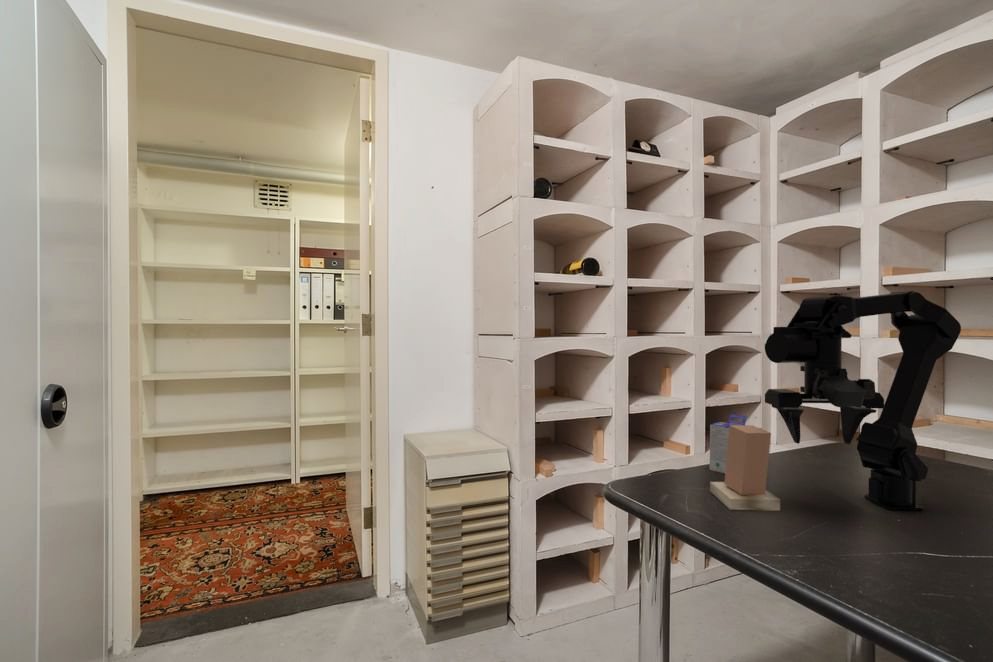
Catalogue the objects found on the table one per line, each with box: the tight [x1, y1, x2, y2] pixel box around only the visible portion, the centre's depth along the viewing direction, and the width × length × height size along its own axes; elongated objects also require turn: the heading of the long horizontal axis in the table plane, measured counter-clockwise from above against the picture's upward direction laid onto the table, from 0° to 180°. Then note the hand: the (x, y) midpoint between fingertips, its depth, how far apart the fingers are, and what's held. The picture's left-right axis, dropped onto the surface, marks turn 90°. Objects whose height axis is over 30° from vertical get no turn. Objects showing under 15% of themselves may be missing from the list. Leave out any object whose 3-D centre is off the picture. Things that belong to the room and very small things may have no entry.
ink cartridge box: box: [709, 413, 763, 474], centre depth 105 cm, size 10×6×14 cm, turn 37°
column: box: [723, 424, 772, 495], centre depth 88 cm, size 5×5×12 cm
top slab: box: [709, 481, 781, 511], centre depth 89 cm, size 9×9×2 cm
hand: (822, 443), depth 87 cm, fingers open, 9 cm apart
